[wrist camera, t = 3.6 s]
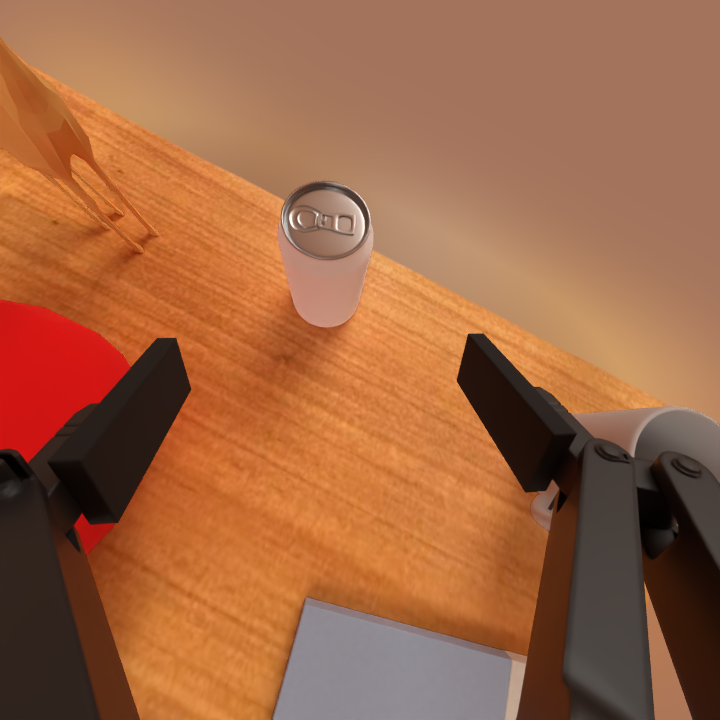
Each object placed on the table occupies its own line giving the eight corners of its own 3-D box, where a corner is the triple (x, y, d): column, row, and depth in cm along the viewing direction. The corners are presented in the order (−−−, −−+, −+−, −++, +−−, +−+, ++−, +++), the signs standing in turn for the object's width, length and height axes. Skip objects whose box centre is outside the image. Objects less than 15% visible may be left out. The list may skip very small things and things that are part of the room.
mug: (568, 398, 32) (690, 380, 21) (624, 474, 31) (782, 495, 20) (476, 467, 29) (560, 486, 19) (532, 553, 28) (657, 625, 18)
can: (297, 264, 32) (281, 167, 21) (361, 272, 33) (381, 182, 21) (288, 325, 31) (265, 258, 19) (356, 332, 31) (374, 272, 20)
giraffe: (233, 269, 31) (-78, -290, 7) (204, 304, 30) (-278, -215, 6) (95, 183, 32) (-629, -611, 8) (62, 214, 31) (-904, -594, 7)
